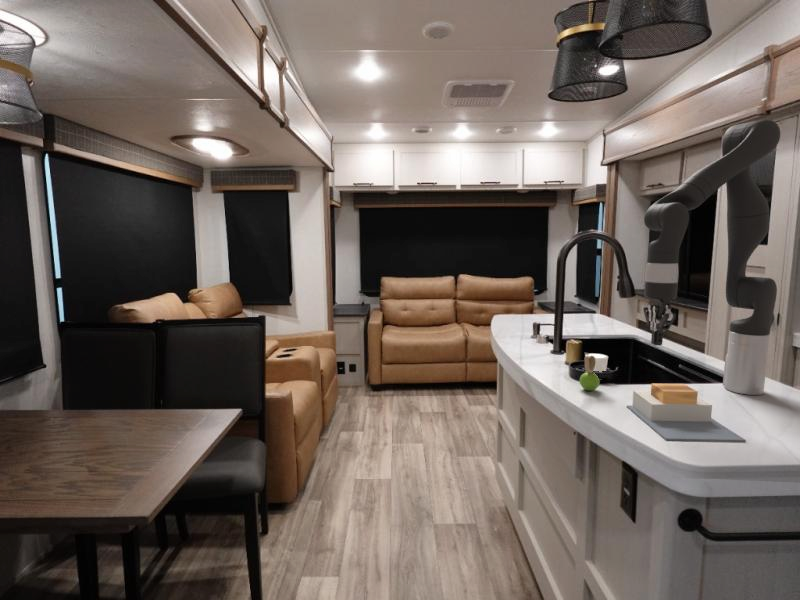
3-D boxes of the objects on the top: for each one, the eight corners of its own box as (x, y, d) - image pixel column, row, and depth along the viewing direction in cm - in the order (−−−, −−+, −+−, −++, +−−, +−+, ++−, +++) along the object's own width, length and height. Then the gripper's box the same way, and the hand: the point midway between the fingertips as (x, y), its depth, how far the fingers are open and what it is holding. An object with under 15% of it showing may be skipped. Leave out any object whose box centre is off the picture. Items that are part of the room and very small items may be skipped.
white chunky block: (580, 373, 150) (581, 353, 149) (600, 373, 150) (601, 352, 149) (590, 380, 143) (591, 358, 142) (611, 379, 143) (612, 357, 142)
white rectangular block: (632, 407, 120) (633, 390, 119) (687, 407, 119) (688, 391, 118) (650, 422, 110) (651, 404, 109) (710, 423, 109) (712, 405, 108)
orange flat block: (650, 394, 116) (651, 383, 116) (683, 395, 115) (683, 383, 115) (662, 403, 110) (663, 391, 110) (696, 403, 109) (697, 391, 109)
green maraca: (575, 391, 133) (576, 351, 131) (583, 385, 137) (585, 347, 136) (593, 395, 129) (595, 354, 127) (601, 389, 134) (603, 350, 132)
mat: (626, 406, 120) (626, 405, 120) (693, 407, 119) (693, 406, 119) (665, 440, 100) (665, 438, 100) (745, 441, 99) (745, 440, 99)
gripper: (690, 282, 112) (684, 350, 114) (663, 278, 125) (658, 339, 127) (659, 282, 112) (654, 350, 115) (635, 278, 125) (631, 339, 128)
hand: (656, 344), depth 121 cm, fingers closed
